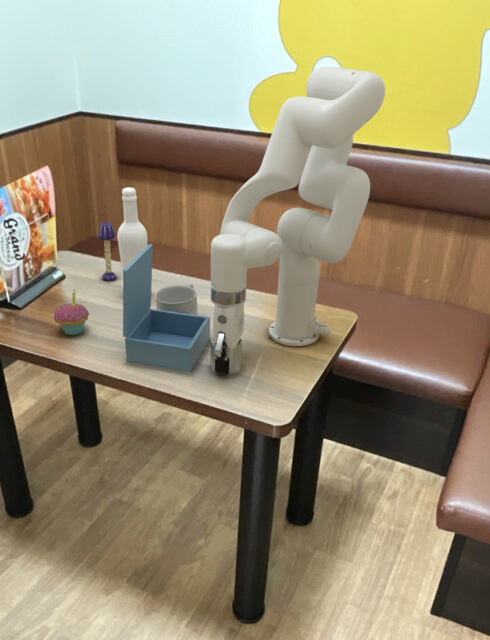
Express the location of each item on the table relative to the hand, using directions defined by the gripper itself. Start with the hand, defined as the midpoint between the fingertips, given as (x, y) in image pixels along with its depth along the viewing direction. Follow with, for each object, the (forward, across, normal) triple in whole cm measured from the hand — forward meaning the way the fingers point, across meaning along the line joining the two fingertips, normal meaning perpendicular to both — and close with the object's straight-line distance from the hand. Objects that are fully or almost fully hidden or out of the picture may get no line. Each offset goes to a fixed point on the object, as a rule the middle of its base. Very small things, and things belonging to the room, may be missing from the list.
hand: (227, 362), depth 139 cm
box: (+2, +3, +15) cm, 15 cm away
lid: (-14, +3, +22) cm, 26 cm away
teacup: (+2, +20, +18) cm, 27 cm away
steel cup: (+2, 0, 0) cm, 2 cm away
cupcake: (+2, +6, +42) cm, 42 cm away
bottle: (+2, +29, +34) cm, 45 cm away
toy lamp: (+2, +38, +46) cm, 60 cm away
